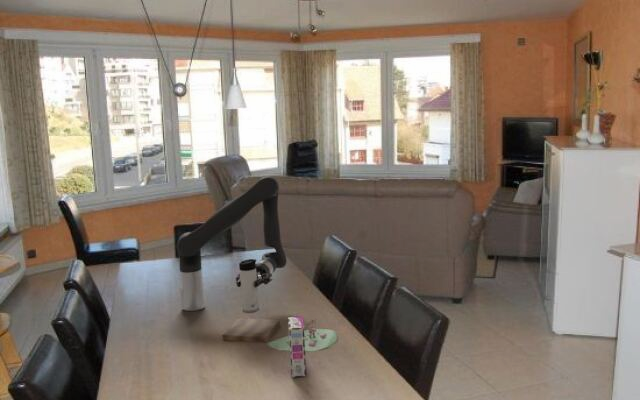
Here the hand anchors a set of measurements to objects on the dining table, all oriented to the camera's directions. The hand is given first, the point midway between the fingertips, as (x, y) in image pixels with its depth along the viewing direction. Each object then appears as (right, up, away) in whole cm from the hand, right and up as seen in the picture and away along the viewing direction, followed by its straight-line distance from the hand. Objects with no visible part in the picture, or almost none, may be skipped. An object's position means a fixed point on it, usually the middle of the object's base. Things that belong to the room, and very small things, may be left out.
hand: (246, 284), depth 221 cm
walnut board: (+1, -19, +5) cm, 20 cm away
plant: (+21, -20, -6) cm, 30 cm away
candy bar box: (+21, -24, -29) cm, 43 cm away
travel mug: (+1, -11, +4) cm, 11 cm away
